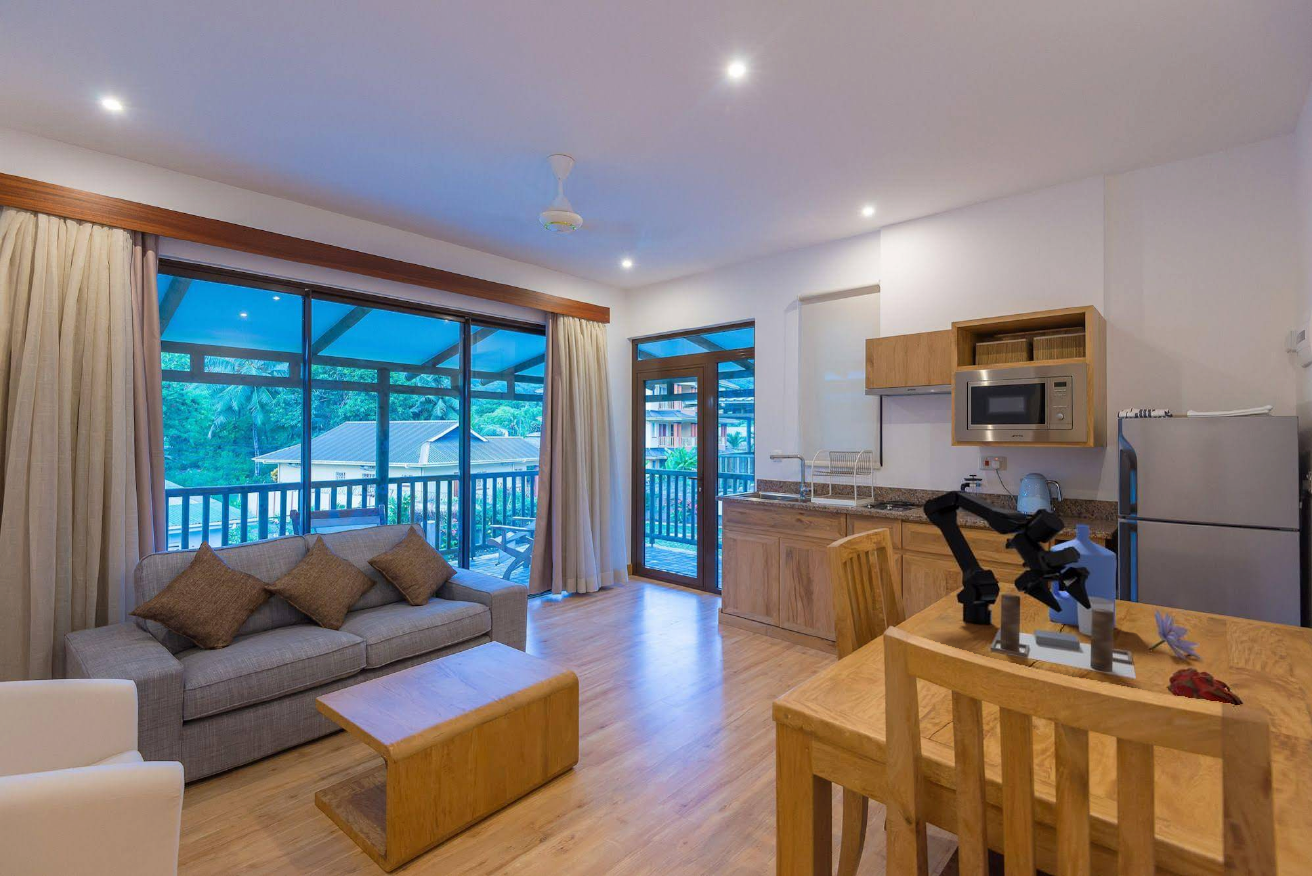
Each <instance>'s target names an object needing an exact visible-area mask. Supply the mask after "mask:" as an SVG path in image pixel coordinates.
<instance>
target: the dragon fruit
mask: <svg viewBox="0 0 1312 876" xmlns="http://www.w3.org/2000/svg"><path fill="white" fill-rule="evenodd" d="M1166 689H1167V690H1168V692H1170V693H1171V694H1172V695H1173V696H1175V695H1177V696H1185V697H1188V698H1196V699H1206V700H1210V701H1219V702H1223V703H1231V704H1234V706H1237V705H1240V706H1242V705H1244V703H1243V701H1242V699H1241V698H1240V697H1239V696H1238V695H1236V694H1235V693H1233V692H1232V691H1231V687H1229V686H1228V685H1227V684H1226V682H1224V681H1222V680H1219V679H1216V678H1215V679H1214V676H1213V675H1212V674H1210V673H1208V672H1207V671H1201V672H1199V671H1198V670H1197V668H1192V667H1189V668H1187V669H1185V668H1180V669H1178V670H1177V671H1176V672H1174V673H1173V674H1172V675H1171V676H1170V677H1169V685H1168V686H1166ZM1177 696H1176V697H1177ZM1245 706H1247V704H1245Z"/></svg>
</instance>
